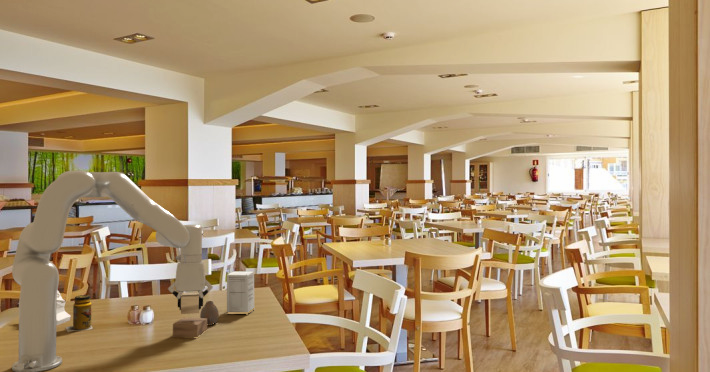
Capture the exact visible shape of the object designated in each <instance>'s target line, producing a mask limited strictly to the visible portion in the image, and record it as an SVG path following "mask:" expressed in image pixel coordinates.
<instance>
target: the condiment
mask: <svg viewBox="0 0 710 372" xmlns="http://www.w3.org/2000/svg"><path fill="white" fill-rule="evenodd" d="M72 306H73V307H72V308H73V311H72V312H73V313H72V316H73V317H72V325H71V326H66V327H65V329H66V332H67V333H70V332H76V331H87V330H89V331H90V330H93V329H94V327H93V326H92V302H91V296H90V295H89V294H81V295H76V296H75V297H74V304H73V305H72Z"/></svg>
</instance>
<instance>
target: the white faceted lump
mask: <svg viewBox="0 0 710 372" xmlns="http://www.w3.org/2000/svg"><path fill="white" fill-rule="evenodd" d="M65 305H66V300H65V299H63V297H62V295H61V293H60V291H59V290H57V306H56V311H57V313H56V326H59V325H61V324H64V323H67V322H69V321H70V320H71V317H72V316H71V314H69V313H68V312H66V310H65Z"/></svg>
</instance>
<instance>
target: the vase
mask: <svg viewBox="0 0 710 372" xmlns="http://www.w3.org/2000/svg"><path fill="white" fill-rule="evenodd" d="M218 309H219V308H218V307H217V306H216V305H215V303H214V301H213V300H208V301H206V302H205V304H203V306H202V307H201V309H200V312H199V318H207V324H213V323H215V324H216V323H217V322H218V320H219V316H220V313H219V310H218Z"/></svg>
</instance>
